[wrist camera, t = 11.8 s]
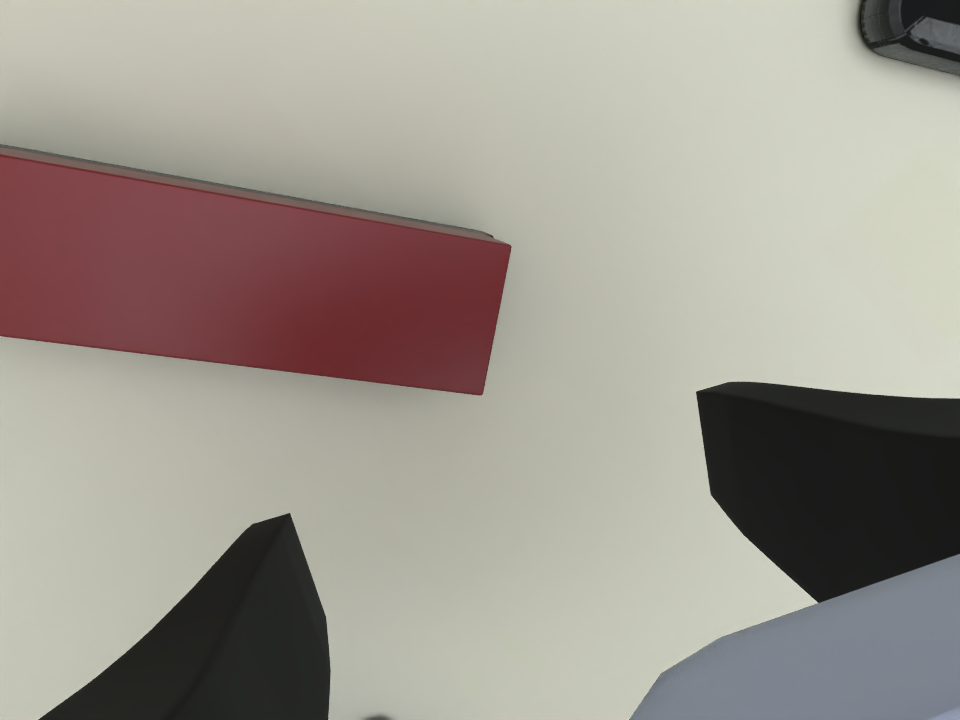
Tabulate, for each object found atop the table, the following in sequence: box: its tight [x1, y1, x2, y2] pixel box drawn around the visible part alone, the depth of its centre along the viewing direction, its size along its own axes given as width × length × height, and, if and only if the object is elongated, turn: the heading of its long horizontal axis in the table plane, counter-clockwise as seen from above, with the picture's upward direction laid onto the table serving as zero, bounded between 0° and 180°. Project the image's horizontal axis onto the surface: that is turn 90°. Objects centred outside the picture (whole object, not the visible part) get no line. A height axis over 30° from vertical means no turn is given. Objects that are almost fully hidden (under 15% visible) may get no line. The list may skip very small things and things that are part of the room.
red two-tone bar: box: [0, 144, 511, 395], centre depth 17 cm, size 13×4×6 cm, turn 79°
